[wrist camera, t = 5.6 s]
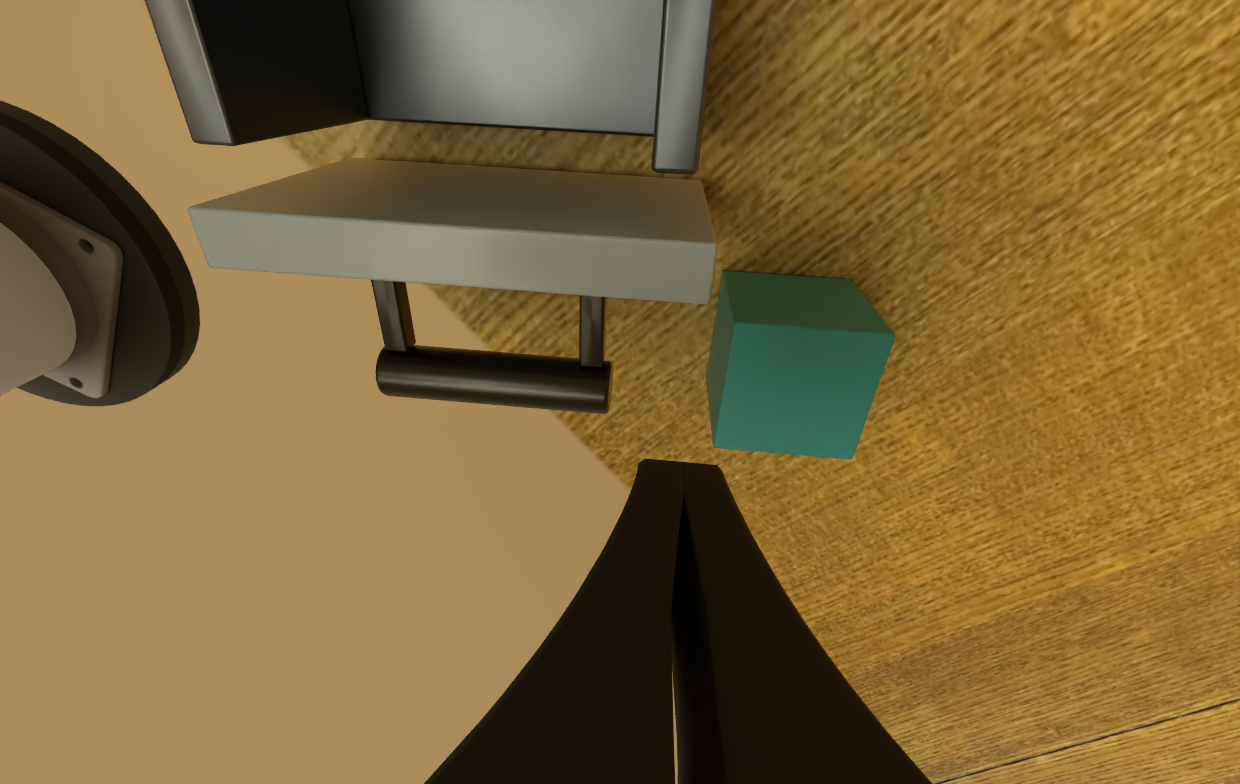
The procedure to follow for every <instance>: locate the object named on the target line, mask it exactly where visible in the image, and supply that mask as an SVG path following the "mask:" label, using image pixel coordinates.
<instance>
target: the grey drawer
mask: <svg viewBox="0 0 1240 784" xmlns="http://www.w3.org/2000/svg"><path fill="white" fill-rule="evenodd" d="M145 2H146V5H147V8H148V11H149V14H150V17H151V19H152V23H153V26H154V29H155V32H156V34H157V37H158V40H159V43H160V46H161V49H162V52H163V55H164V58H165V61H166V64H167V67H168V70H169V73H170V75H171V78H172V81H173V84H174V87H175V90H176V93H177V96H178V99H179V102H180V105H181V108H182V110H183V114H184V116H185V119H186V122H187V125H188V128H189V131H190V134H191V137H192V140H193V141H194V142H196V143H199V144H211V145H227V146H236V145H241V144H246V143H252V142H257V141H262V140H267V139H272V138H277V137H282V136H287V135H293V134H298V133H303V132H308V131H313V130H318V129H323V128H328V127H333V126H339V125H344V124H349V123H354V122H359V121H364V120H382V121H399V122H415V123H432V124H449V125H465V126H482V127H499V128H515V129H532V130H549V131H565V132H582V133H599V134H615V135H632V136H649V137H653V151H652V165H651V166H652V170H653V171H655V172H657V173H673V174H689V175H692V174H695V173H696V172H697V170H698V166H699V157H700V148H701V140H702V131H703V122H704V113H705V105H706V96H707V87H708V78H709V70H710V61H711V52H712V43H713V35H714V26H715V17H716V8H717V0H145ZM188 213H189V215H190V218H191V221H192V223H193V226H194V229H195V232H196V234H197V237H198V240H199V242H200V245H201V248H202V250H203V253H204V256H205V259H206V261H207V264H208V266H210V267H211V268H222V269H236V270H249V271H263V272H277V273H290V274H303V275H317V276H330V277H344V278H357V279H370V280H371V282H372V287H373V292H374V296H375V300H376V306H377V311H378V316H379V320H380V325H381V330H382V335H383V340H384V344H385V346H384V347H383V349H382V350H381V352H380V354H379V356H378V359H377V364H376V381H377V385H378V387H379V389H380V391H381V392H382V393H383V394H385V395H388V396H397V397H410V398H421V399H433V400H445V401H458V402H468V403H480V404H492V405H504V406H515V407H527V408H540V409H551V410H563V411H574V412H586V413H598V414H606V413H608V411H609V409H610V403H611V394H612V382H613V365H612V362H610V361H605V360H604V359H605V339H606V310H607V297H612V298H625V299H639V300H652V301H666V302H679V303H693V304H708V303H709V301H710V296H711V289H712V282H713V275H714V268H715V261H716V254H717V243H716V239H715V234H714V230H713V226H712V222H711V218H710V213H709V209H708V205H707V201H706V197H705V193H704V188H703V184H702V181H701V180H691V179H675V178H659V177H643V176H628V175H612V174H596V173H580V172H565V171H549V170H533V169H518V168H502V167H486V166H470V165H455V164H439V163H423V162H407V161H392V160H376V159H360V158H349V159H346V160H342V161H339V162H336V163H333V164H329V165H326V166H323V167H319V168H316V169H313V170H309V171H306V172H303V173H300V174H296V175H293V176H290V177H286V178H283V179H280V180H277V181H273V182H270V183H267V184H263V185H260V186H257V187H253V188H250V189H247V190H244V191H240V192H237V193H234V194H230V195H227V196H224V197H221V198H217V199H214V200H211V201H207V202H205V203H201V204H198V205H194V206H191V207H189V208H188ZM405 282H410V283H424V284H437V285H451V286H464V287H478V288H491V289H504V290H518V291H531V292H545V293H558V294H572V295H580V324H579V358H567V357H555V356H542V355H530V354H517V353H505V352H493V351H479V350H468V349H467V350H466V349H454V348H443V347H430V346H418V345H414V344H415V342H416V341H415V335H414V329H413V324H412V317H411V312H410V306H409V300H408V294H407V289H406V283H405Z"/></svg>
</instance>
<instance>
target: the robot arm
mask: <svg viewBox="0 0 1240 784" xmlns="http://www.w3.org/2000/svg"><path fill="white" fill-rule="evenodd" d="M89 242H90V243H91V244H92V246H93V247H92V246H91V244H90V243H89ZM123 259H124V258H123V252H122V250H121V249H120V247H119V246H118V245H117V244H116V243H115V242H113V241H112V240H110V239H108V238H106V237H105V236H103V235H101V234H99V233H97V232H95V231H93V230H91V229H90V228H88V227H86V226H84V225H82V224H80V223H78V222H76V221H74V220H73V219H71V218H69V217H67V216H65V215H63V214H61V213H59V212H58V211H56V210H54V209H52V208H50V207H48V206H46V205H44V204H42V203H41V202H39V201H37V200H35V199H33V198H31V197H29V196H27V195H26V194H24V193H22V192H20V191H18V190H16V189H14V188H12V187H11V186H9V185H7V184H5V183H3V182H1V181H0V396H1V395H2V394H5V393H7V392H9V391H10V390H13V389H15V388H17V387H19V386H21V385H23V384H25V383H27V382H29V381H31V380H33V379H35V378H37V377H39V376H41V375H44V376H46V377H48V378H50V379H52V380H55V381H57V382H59V383H61V384H63V385H65V386H67V387H70V388H72V389H74V390H76V391H78V392H80V393H82V394H85V395H87V396H89V397H92V398H99V397H101V396H103V395H105V394H106V393H107V392H108V390H109V381H110V372H111V363H112V355H113V346H114V337H115V328H116V320H117V311H118V302H119V293H120V285H121V276H122V267H123ZM672 671H673V685H674V701H675V715H676V730H677V755H678V756H677V758H678V784H932V783H931V782H930V781H929V779H928V778H927V777H926V776H925V775H924V774H923V772H922V771H921V770H920V769H919V768H918V767H917V766H916V764H915V763H914V762H913V761H912V760H911V759H910V758H909V756H908V755H907V754H906V753H905V752H904V751H903V750H902V748H901V747H900V746H899V745H898V744H897V743H896V741H895V740H894V739H893V738H892V737H891V736H890V734H889V733H888V732H887V731H886V730H885V728H884V727H883V726H882V725H881V723H880V722H879V721H878V720H877V718H876V717H875V716H874V715H873V713H872V712H871V711H870V710H869V708H868V707H867V706H866V705H865V703H864V702H863V701H862V699H861V698H860V697H859V696H858V694H857V693H856V692H855V691H854V689H853V688H852V687H851V685H850V684H849V683H848V681H847V680H846V679H845V677H844V676H843V675H842V673H841V672H840V671H839V669H838V668H837V667H836V665H835V664H834V663H833V661H832V660H831V659H830V657H829V656H828V655H827V653H826V652H825V650H824V649H823V648H822V646H821V645H820V643H819V642H818V640H817V639H816V638H815V636H814V635H813V633H812V632H811V630H810V629H809V627H808V626H807V624H806V623H805V622H804V620H803V618H802V617H801V615H800V614H799V612H798V611H797V609H796V608H795V606H794V605H793V603H792V602H791V600H790V598H789V597H788V595H787V594H786V592H785V591H784V589H783V587H782V586H781V584H780V582H779V581H778V579H777V578H776V576H775V574H774V573H773V571H772V569H771V567H770V566H769V564H768V562H767V560H766V559H765V557H764V555H763V553H762V552H761V550H760V548H759V546H758V545H757V543H756V541H755V539H754V537H753V536H752V534H751V532H750V530H749V528H748V526H747V524H746V522H745V520H744V518H743V516H742V514H741V512H740V510H739V508H738V506H737V504H736V502H735V500H734V498H733V496H732V493H731V491H730V489H729V487H728V484H727V482H726V480H725V477H724V474H723V472H722V470H721V469H720V468H719V467H718V466H717V465H710V464H699V463H688V462H677V461H665V460H654V459H645V460H643V461H642V462H640V463H639V465H638V470H637V475H636V478H635V481H634V484H633V487H632V490H631V492H630V495H629V497H628V500H627V502H626V504H625V507H624V509H623V511H622V514H621V516H620V518H619V519H618V521H617V523H616V525H615V528H614V529H613V531H612V533H611V535H610V537H609V539H608V541H607V543H606V545H605V547H604V549H603V551H602V552H601V554H600V556H599V557H598V559H597V561H596V562H595V564H594V566H593V567H592V569H591V571H590V572H589V574H588V576H587V577H586V579H585V581H584V583H583V584H582V586H581V587H580V589H579V591H578V592H577V594H576V595H575V597H574V599H573V600H572V601H571V603H570V605H569V606H568V607H567V609H566V611H565V612H564V613H563V615H562V616H561V618H560V619H559V621H558V622H557V623H556V625H555V626H554V628H553V629H552V630H551V632H550V633H549V635H548V636H547V637H546V639H545V640H544V642H543V643H542V644H541V646H540V647H539V648H538V650H537V651H536V652H535V654H534V655H533V656H532V658H531V659H530V660H529V661H528V663H527V664H526V665H525V667H524V668H523V669H522V670H521V672H520V673H519V674H518V675H517V677H516V678H515V679H514V681H513V682H512V683H511V684H510V686H509V687H508V688H507V690H506V691H505V692H504V693H503V694H502V696H501V697H500V698H499V700H497V702H496V703H495V704H494V706H493V707H492V708H491V709H490V710H489V712H488V713H487V714H486V715H485V716H484V717H483V718H482V720H481V721H480V722H479V723H478V724H477V725H476V726H475V727H474V729H473V730H472V731H471V732H470V733H469V734H468V735H467V736H466V738H465V739H464V740H463V741H462V742H461V743H460V744H459V745H458V746H457V748H456V749H455V750H454V751H453V752H452V753H451V754H450V755H449V757H448V758H447V759H446V760H445V761H444V762H443V763H442V764H441V765H440V766H439V768H438V769H437V770H436V771H435V772H434V773H433V774H432V775H431V777H430V778H429V779H428V780H427V781H426V782H425V783H424V784H675V766H674V736H673V735H674V733H673V692H672Z"/></svg>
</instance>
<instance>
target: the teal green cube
mask: <svg viewBox="0 0 1240 784" xmlns="http://www.w3.org/2000/svg"><path fill="white" fill-rule="evenodd" d="M894 338H895V333H894V332H893V331H892V330H891V328H890V327H889V326H888V325H887V324H886V322H885V321H884V320H883V319H882V317H881V316H880V315H879V314H878V312H877V311H876V310H875V309H874V307H873V306H872V305H871V304H870V303H869V301H868V300H867V299H866V298H865V296H864V295H863V294H862V293H861V291H860V290H859V289H858V288H857V287H856V285H855V284H854V283H853V282H852V280H850V279H837V278H823V277H809V276H795V275H781V274H767V273H753V272H739V271H723V272H722V276H721V283H720V290H719V296H718V303H717V310H716V316H715V323H714V330H713V336H712V343H711V349H710V356H709V363H708V369H707V376H706V382H707V392H708V401H709V411H710V420H711V430H712V439H713V446H714V447H715V448H725V449H736V450H748V451H760V452H771V453H783V454H794V455H806V456H817V457H829V458H840V459H852V458H853V456H854V453H855V450H856V447H857V444H858V441H859V438H860V436H861V433H862V430H863V427H864V424H865V421H866V418H867V415H868V413H869V410H870V407H871V404H872V401H873V398H874V395H875V393H876V390H877V387H878V384H879V381H880V378H881V375H882V373H883V370H884V367H885V364H886V361H887V358H888V355H889V352H890V350H891V347H892V344H893V341H894Z"/></svg>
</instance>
